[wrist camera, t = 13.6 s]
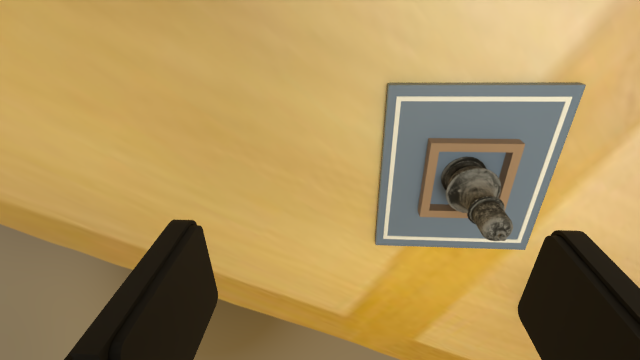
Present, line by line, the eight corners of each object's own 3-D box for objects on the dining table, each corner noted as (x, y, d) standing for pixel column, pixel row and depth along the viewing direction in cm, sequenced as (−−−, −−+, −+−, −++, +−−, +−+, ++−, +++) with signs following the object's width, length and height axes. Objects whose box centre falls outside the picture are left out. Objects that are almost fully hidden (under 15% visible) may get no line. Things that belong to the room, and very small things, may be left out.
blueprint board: (387, 83, 36) (390, 88, 34) (579, 82, 35) (595, 88, 33) (375, 240, 47) (376, 252, 45) (521, 244, 46) (530, 257, 44)
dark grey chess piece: (499, 175, 40) (553, 240, 29) (458, 205, 42) (495, 274, 32) (468, 144, 38) (515, 201, 28) (428, 177, 41) (456, 240, 30)
